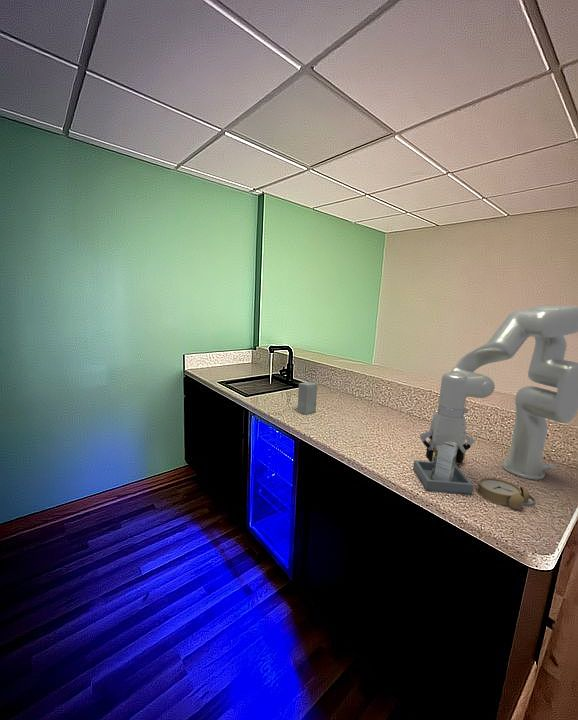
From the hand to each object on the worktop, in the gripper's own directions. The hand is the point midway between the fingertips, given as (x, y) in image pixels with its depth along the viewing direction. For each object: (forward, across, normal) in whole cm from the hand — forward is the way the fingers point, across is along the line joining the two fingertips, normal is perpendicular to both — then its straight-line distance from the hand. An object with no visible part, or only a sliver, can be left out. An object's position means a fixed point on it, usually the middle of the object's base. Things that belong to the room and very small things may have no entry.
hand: (443, 460), depth 107 cm
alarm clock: (+8, -16, +7) cm, 20 cm away
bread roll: (+8, -10, -16) cm, 21 cm away
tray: (+7, 0, 0) cm, 7 cm away
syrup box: (+7, 0, 0) cm, 7 cm away
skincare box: (+8, +47, -62) cm, 78 cm away
